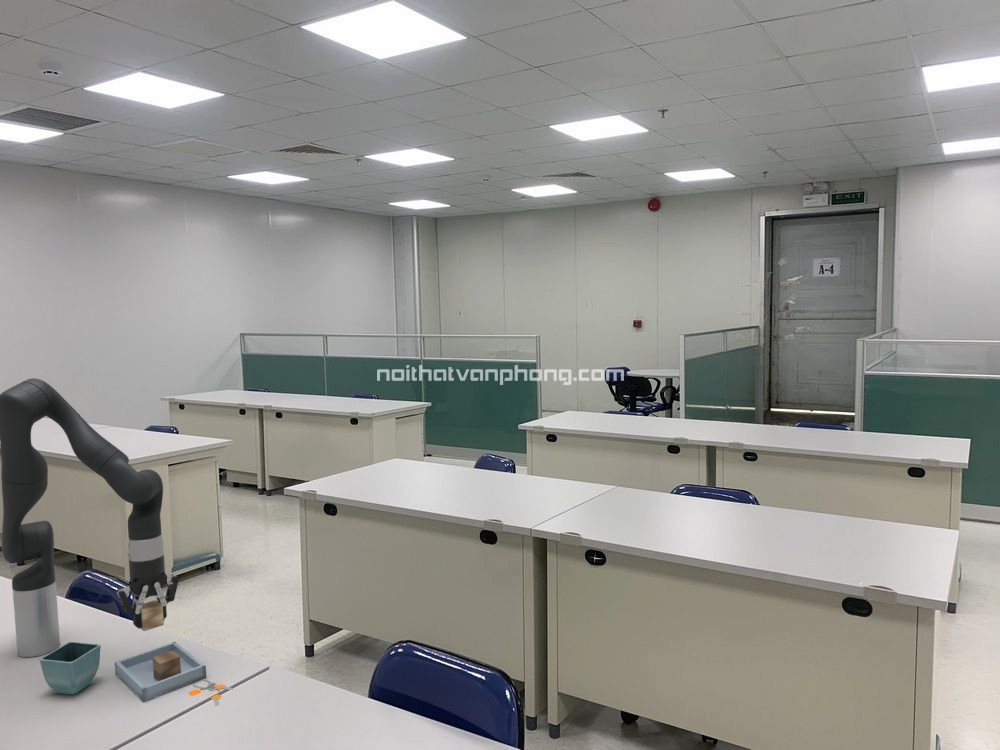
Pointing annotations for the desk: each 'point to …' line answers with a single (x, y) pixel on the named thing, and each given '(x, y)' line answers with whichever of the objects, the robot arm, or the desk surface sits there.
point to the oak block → (152, 615)
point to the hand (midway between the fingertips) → (150, 623)
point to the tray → (142, 677)
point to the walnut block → (166, 665)
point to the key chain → (218, 687)
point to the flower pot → (71, 667)
